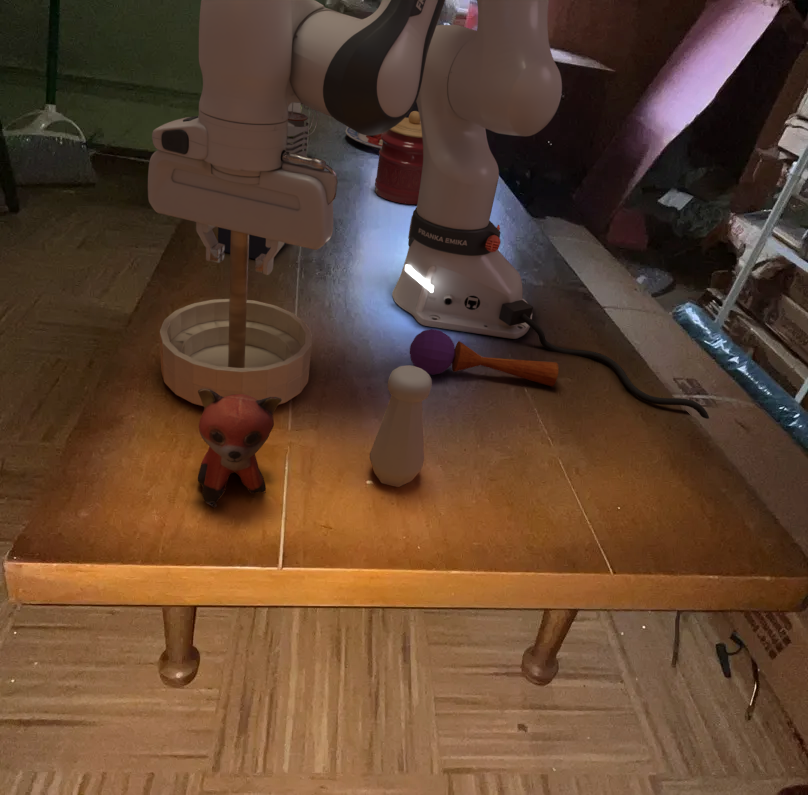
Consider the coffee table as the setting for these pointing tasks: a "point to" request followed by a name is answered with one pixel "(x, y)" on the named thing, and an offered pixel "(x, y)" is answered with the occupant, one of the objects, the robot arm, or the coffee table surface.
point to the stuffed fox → (233, 440)
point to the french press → (298, 132)
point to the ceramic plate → (365, 139)
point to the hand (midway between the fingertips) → (239, 266)
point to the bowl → (208, 352)
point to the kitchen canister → (401, 161)
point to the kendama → (472, 359)
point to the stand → (255, 243)
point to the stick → (238, 298)
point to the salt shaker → (402, 428)
